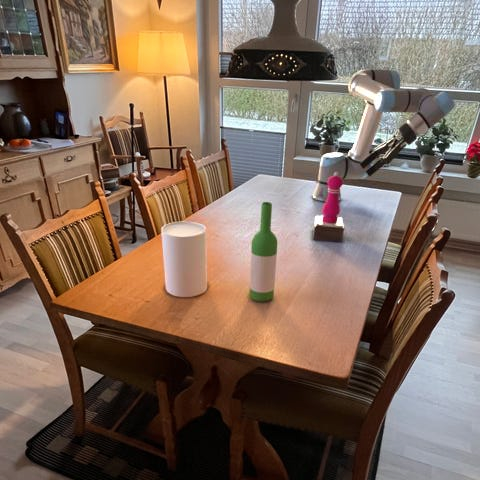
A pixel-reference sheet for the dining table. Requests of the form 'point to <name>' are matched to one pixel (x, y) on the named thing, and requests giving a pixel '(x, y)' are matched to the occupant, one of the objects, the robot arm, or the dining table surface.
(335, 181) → the pepper mill
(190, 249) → the canister
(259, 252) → the wine bottle
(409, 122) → the robot arm
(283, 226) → the dining table surface
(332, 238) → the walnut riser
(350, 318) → the dining table surface
